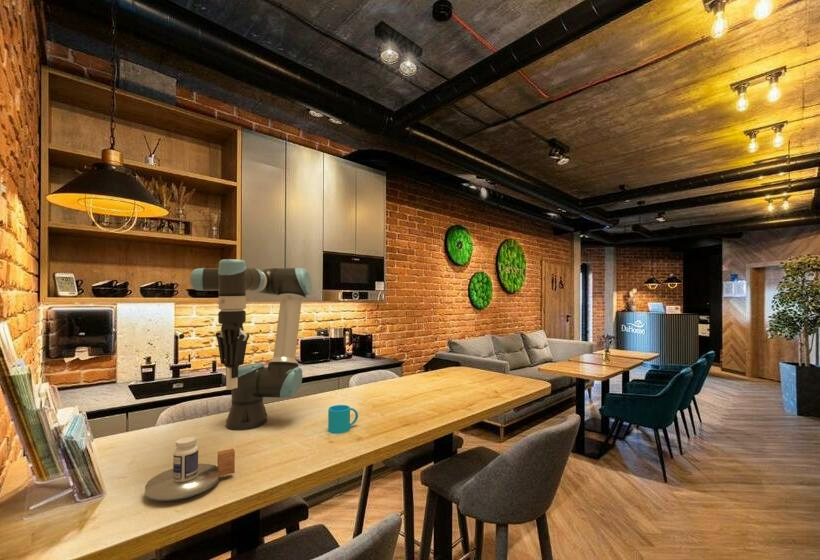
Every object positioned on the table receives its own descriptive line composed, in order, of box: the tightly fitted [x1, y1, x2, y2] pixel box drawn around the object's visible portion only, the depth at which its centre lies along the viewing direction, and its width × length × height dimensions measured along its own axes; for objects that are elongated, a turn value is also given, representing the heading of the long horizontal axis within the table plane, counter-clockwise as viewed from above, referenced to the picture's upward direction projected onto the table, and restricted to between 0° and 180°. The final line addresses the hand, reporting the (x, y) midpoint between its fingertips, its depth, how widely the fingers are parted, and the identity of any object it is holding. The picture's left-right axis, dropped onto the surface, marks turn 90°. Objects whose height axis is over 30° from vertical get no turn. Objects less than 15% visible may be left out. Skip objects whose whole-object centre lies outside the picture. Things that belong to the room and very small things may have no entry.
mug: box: [327, 404, 359, 434], centre depth 143 cm, size 12×8×8 cm
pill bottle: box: [172, 436, 199, 482], centre depth 99 cm, size 6×6×10 cm
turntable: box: [144, 448, 236, 502], centre depth 100 cm, size 17×20×6 cm
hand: (231, 388), depth 113 cm, fingers closed
